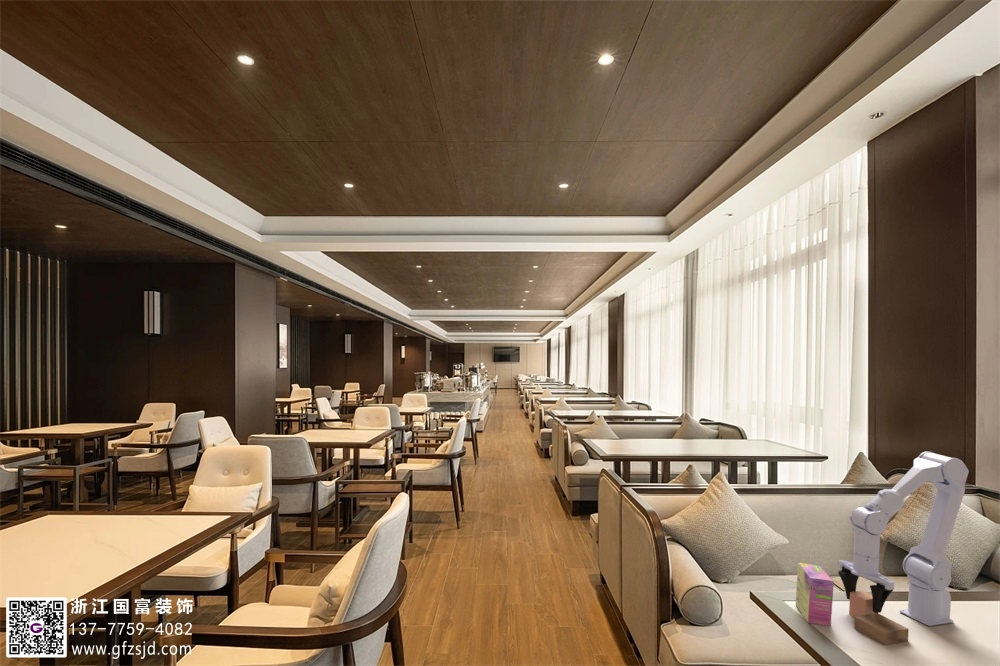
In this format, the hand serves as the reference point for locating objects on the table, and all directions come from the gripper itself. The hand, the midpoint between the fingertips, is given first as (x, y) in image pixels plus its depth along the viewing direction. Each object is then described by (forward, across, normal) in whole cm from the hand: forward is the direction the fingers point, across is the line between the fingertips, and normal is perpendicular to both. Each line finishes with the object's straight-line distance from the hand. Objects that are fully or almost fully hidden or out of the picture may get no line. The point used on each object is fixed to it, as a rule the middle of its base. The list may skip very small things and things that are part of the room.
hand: (863, 605), depth 152 cm
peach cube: (+3, 0, 0) cm, 3 cm away
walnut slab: (+3, +8, -4) cm, 9 cm away
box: (+4, -4, -13) cm, 14 cm away
